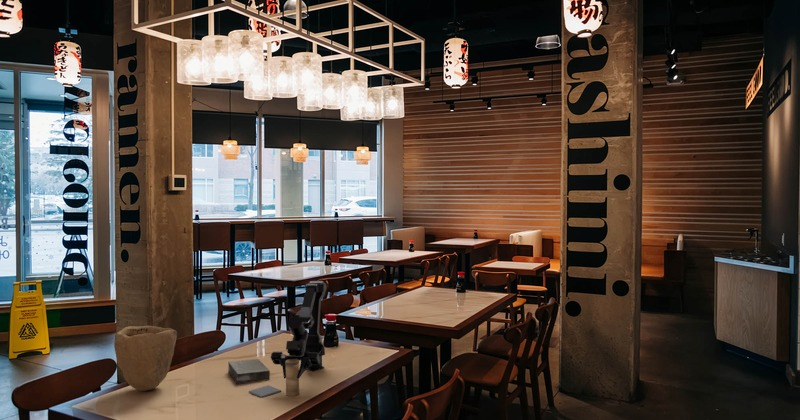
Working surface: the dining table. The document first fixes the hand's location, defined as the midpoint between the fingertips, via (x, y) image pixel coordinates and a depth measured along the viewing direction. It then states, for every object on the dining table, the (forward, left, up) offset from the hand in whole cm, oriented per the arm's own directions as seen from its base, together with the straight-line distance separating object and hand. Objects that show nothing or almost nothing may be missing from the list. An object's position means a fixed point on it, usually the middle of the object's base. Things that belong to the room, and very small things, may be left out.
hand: (291, 378), depth 207 cm
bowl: (+35, -49, -7) cm, 60 cm away
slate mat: (+5, -11, -7) cm, 14 cm away
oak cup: (-1, -1, -7) cm, 7 cm away
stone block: (-2, -35, -7) cm, 35 cm away
